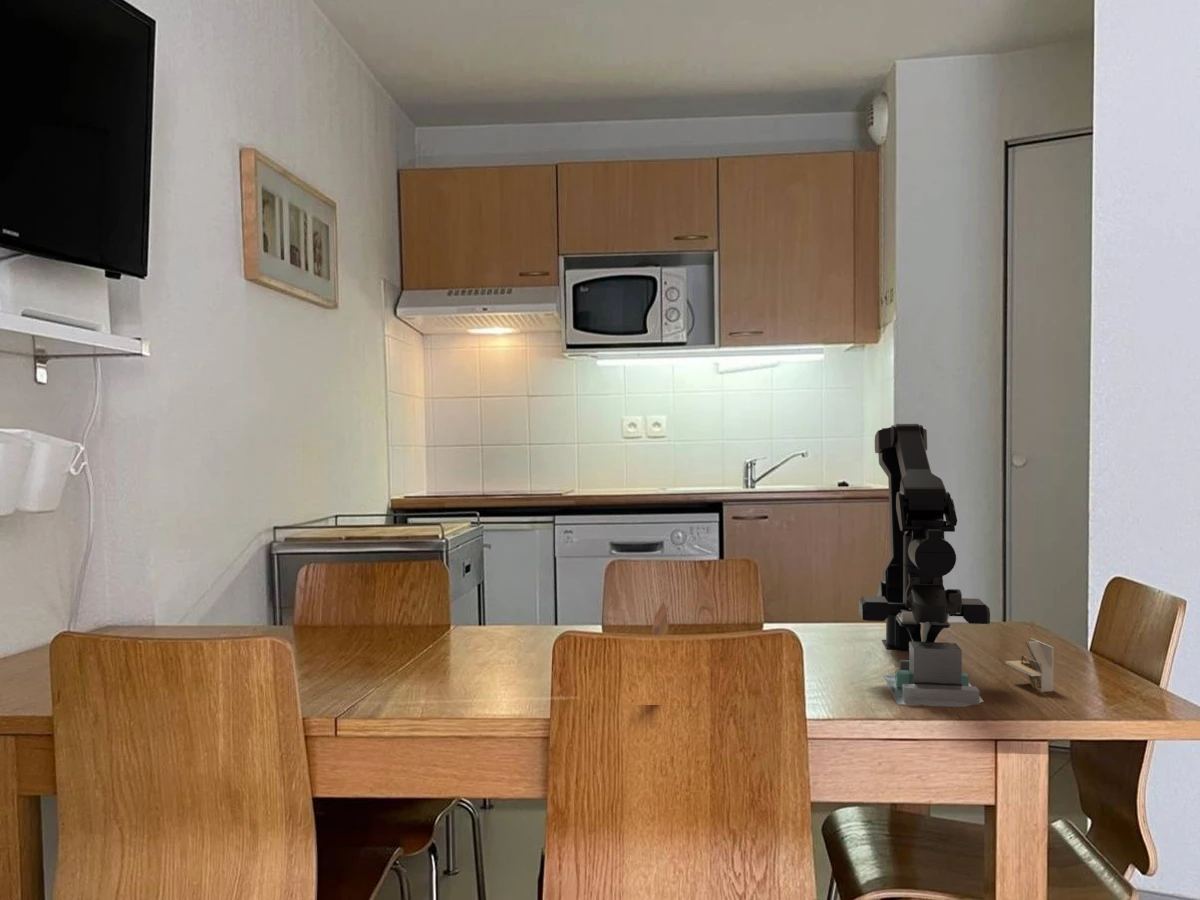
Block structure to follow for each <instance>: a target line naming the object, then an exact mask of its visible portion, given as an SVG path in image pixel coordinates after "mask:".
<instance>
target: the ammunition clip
mask: <svg viewBox="0 0 1200 900" xmlns="http://www.w3.org/2000/svg"><path fill="white" fill-rule="evenodd" d="M669 633H670V632H669V626H668V612H667V608H666V604H665V602H664V601H663V602H662V603H661V604H660V607H659V608H658V610H657V612H656V614H655V616H654V618H653V622H652V634H651V635H669ZM669 636H670V635H669Z"/></svg>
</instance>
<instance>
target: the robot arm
mask: <svg viewBox="0 0 1200 900" xmlns="http://www.w3.org/2000/svg"><path fill="white" fill-rule="evenodd" d="M927 431H928V430H927V429H925V428H924V426H923V424H919V423H896V424H895V425H893V424H892V425H891V426H890V427H882V428H881V429H878V430H877V431H876V433H875V435H874V452H875V454H877V455H878V465H879V466H880V468H881V469H882V470H883V473H884V474H885V475H886V476H887V479H888V506H889V507H888V509H889V540H890V545H889V546H890V558H889V560H888V562H887V564H886V565H885V567H884V569H883V571H882V572H881V578H882V579H881V580H879V582H878V587H877V588H878V589H877V594H876V596H875V595H873V596H872V595H862V596H861V597H860V598H859V599H858V613H859V615H860V618H861V620H862V621H866V622H867V621H868V622H869V621H870V622H871V621H872V622H885V639H882V640H881V642H882V644H883V646H884V648H885V649H886V650H889V651H909V642H935V641H936V639H937V638H938V636H939V634H940V632H942V631H943V629H949V628H951V627H950V626H951V623H950V622H949V619H950V617H962V619H964V620H965V621H966V622H967V623H968V624H969V625H972V624H973V625H974V624H977V625H990V624H991V611H990V607H989V606H988V605H986V603H985V602H983V601H982V600H981V599H980V598H965V597H962V596H963V593H962V591H961V589H958V588H955V589H954V588H953V589H951V588H948V589H946V588H945V587H944V580H943V577H944V576H946V575H948V574H949V573H950V572H952V570H953V569H954V567H955V566H956V562H957V554H956V551H955V549H954V547H953V546H952V544H951V543H950V542H948V541H947V540H946V539H945V532H949V533H950V532H951V533H955V532H956V526H957V525H958V524H957V523H958V519H957V518H958V517H957V511H956V507H955V502H954V500H953V498H952V497H951V493H950V492H948V491H947V490H946V487H945V484H944V482H943V479H941V478H940V477H939V476H937V475H935V474H933V472H932V470H931V466H930V463H929V458H928V455H927V454H928V453H927V451H928V434H927V433H928V432H927ZM921 624H923V627H922V625H921ZM922 628H923V629H922ZM921 630H922V633H921ZM921 634H922V635H921Z"/></svg>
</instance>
